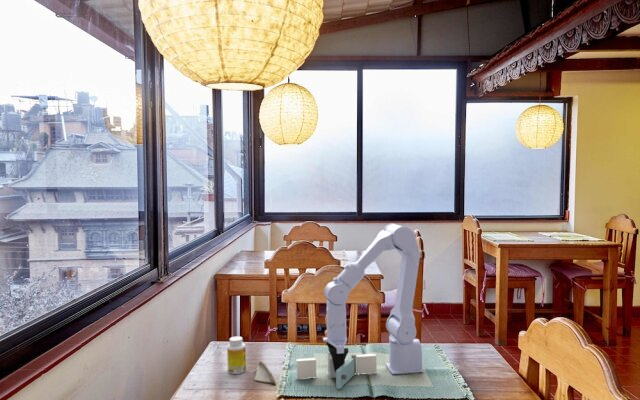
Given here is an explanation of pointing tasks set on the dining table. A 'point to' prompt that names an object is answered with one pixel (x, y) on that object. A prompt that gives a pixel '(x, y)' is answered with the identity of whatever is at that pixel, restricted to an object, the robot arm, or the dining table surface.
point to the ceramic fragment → (264, 374)
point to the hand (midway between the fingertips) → (337, 368)
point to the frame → (361, 362)
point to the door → (344, 373)
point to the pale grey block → (331, 367)
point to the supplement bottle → (236, 355)
